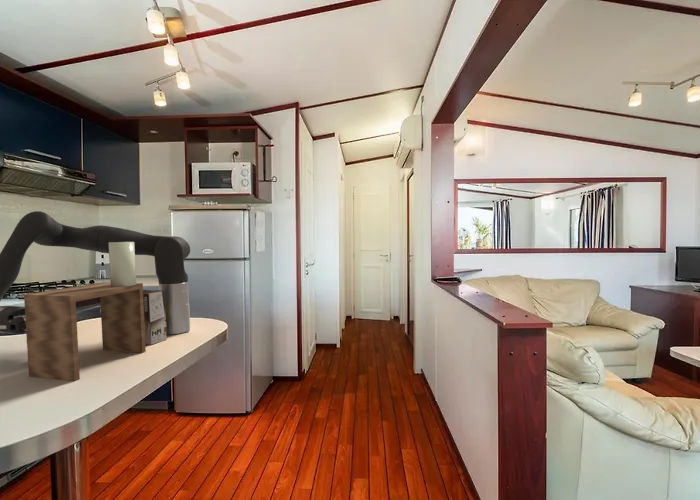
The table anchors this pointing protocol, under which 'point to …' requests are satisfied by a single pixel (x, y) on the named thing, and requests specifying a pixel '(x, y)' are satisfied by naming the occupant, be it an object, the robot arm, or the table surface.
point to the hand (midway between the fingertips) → (56, 322)
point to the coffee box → (154, 316)
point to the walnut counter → (61, 326)
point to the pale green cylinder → (122, 264)
